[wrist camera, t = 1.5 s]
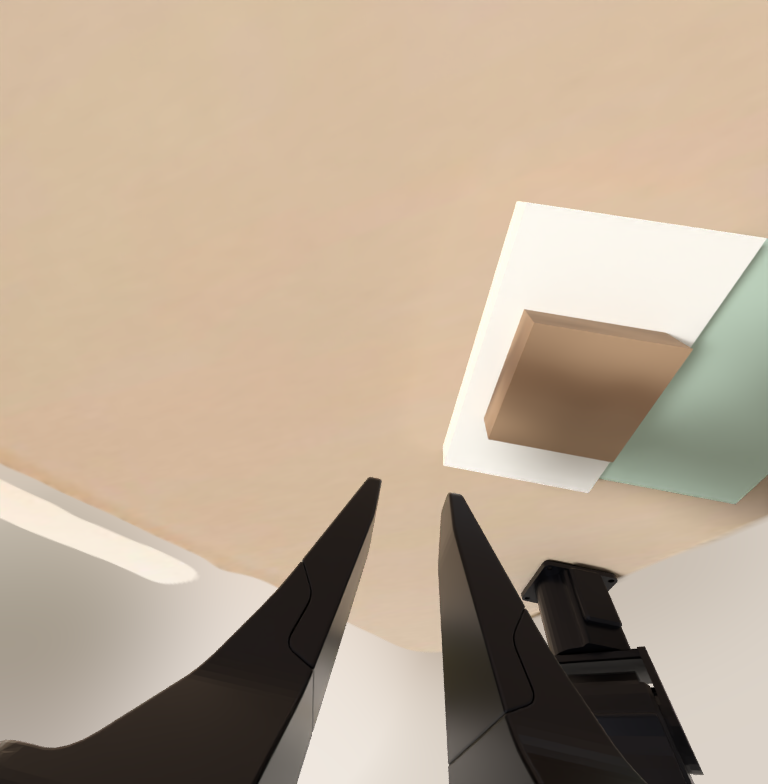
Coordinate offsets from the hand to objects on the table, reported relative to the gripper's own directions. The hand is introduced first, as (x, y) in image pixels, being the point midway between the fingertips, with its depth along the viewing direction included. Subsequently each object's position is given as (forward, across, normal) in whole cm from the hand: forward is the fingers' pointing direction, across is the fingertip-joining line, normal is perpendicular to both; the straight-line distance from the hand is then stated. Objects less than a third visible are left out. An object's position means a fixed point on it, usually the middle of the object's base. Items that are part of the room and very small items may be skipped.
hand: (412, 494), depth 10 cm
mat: (+12, -19, 0) cm, 22 cm away
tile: (+10, -8, 0) cm, 13 cm away
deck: (+12, -8, 0) cm, 14 cm away
